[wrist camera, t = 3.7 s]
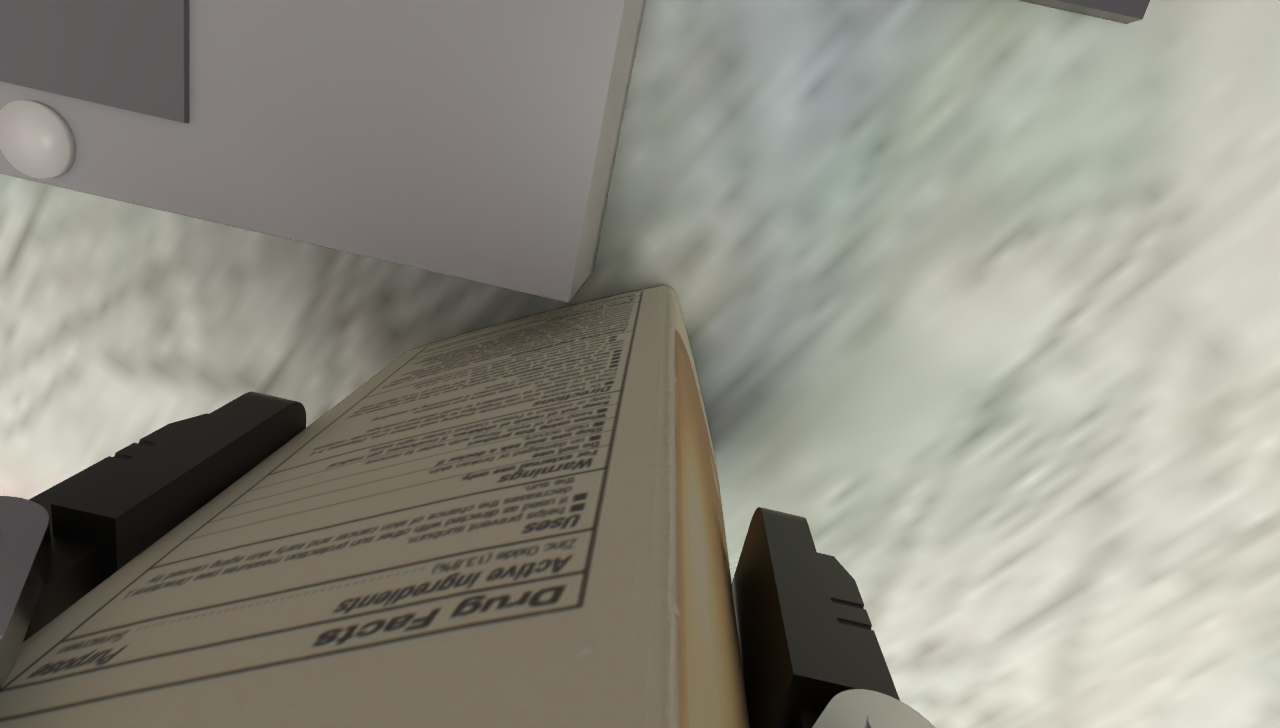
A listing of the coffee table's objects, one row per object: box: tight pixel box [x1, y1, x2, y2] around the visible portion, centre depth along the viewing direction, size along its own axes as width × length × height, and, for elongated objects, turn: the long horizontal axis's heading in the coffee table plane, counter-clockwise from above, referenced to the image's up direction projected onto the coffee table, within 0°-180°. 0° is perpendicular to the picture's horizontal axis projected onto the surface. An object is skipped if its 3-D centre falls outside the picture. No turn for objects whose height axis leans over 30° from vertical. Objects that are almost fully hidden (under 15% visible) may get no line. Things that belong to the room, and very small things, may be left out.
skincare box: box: [0, 286, 750, 728], centre depth 9 cm, size 6×4×12 cm
